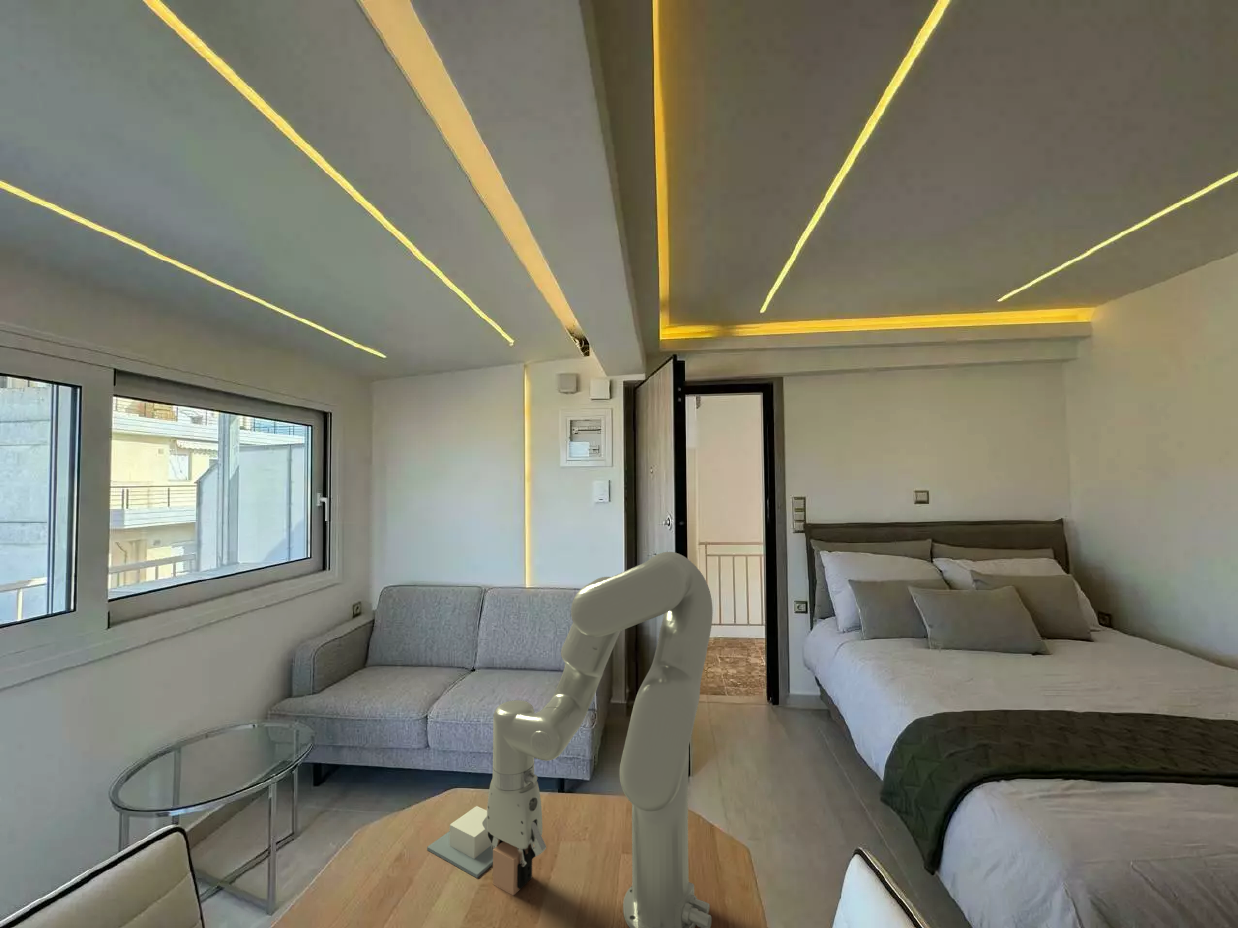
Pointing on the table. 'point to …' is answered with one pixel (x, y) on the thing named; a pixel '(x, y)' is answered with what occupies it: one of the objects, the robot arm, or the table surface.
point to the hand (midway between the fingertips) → (512, 875)
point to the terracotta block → (506, 867)
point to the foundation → (466, 843)
